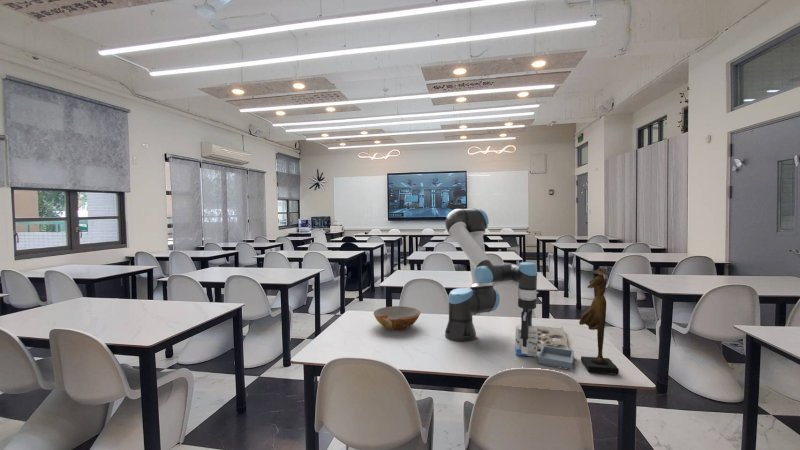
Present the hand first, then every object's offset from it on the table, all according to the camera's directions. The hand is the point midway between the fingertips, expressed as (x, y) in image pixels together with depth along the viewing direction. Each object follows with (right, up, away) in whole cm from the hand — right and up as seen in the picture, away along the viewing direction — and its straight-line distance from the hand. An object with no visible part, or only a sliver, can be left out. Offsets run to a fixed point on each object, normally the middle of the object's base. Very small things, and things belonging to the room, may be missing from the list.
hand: (526, 350), depth 160 cm
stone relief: (+15, -2, +18) cm, 24 cm away
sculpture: (+23, -3, -14) cm, 27 cm away
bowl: (-57, -1, +38) cm, 68 cm away
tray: (+11, -2, -6) cm, 12 cm away
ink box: (0, -2, 0) cm, 2 cm away
